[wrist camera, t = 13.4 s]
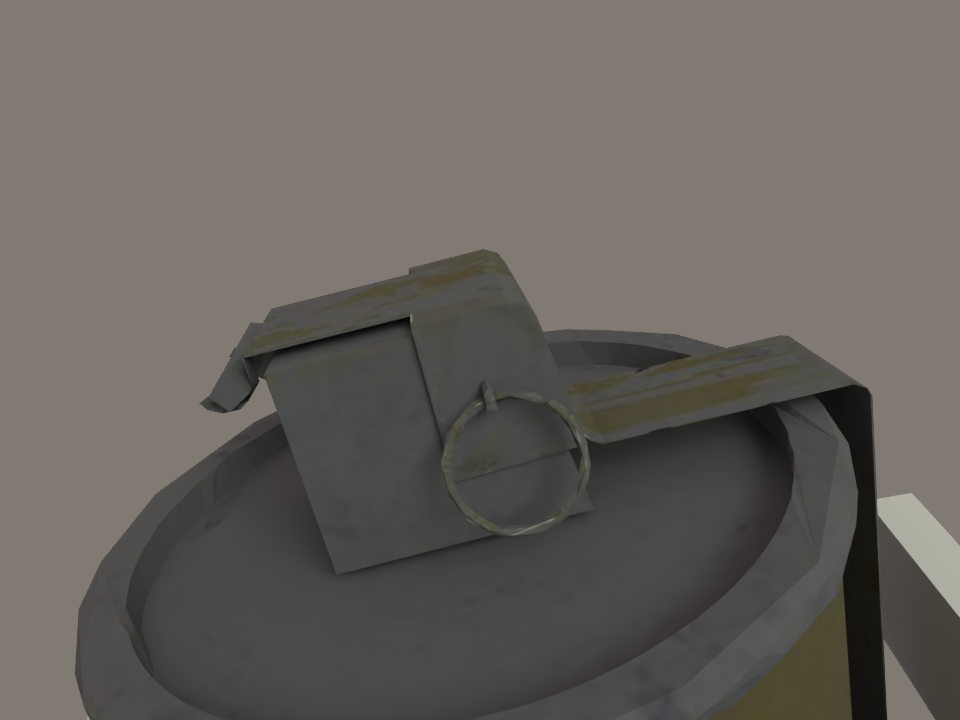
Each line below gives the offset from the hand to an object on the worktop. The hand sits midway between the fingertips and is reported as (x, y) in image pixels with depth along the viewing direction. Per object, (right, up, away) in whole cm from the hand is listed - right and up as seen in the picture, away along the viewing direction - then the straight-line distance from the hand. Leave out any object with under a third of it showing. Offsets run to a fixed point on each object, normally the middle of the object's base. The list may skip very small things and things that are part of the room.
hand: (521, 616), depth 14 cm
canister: (+3, -13, +3) cm, 13 cm away
